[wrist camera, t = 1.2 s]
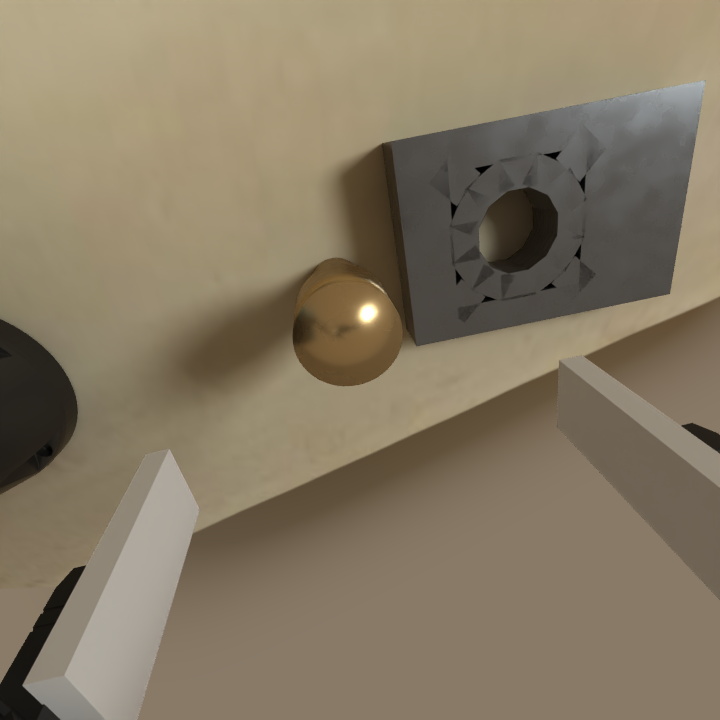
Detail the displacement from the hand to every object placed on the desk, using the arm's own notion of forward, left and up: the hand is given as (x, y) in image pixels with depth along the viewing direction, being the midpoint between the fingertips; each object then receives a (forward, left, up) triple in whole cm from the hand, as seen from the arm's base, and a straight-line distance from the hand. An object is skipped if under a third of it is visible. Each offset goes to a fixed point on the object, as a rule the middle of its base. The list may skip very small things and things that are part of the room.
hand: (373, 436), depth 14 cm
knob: (0, 0, -21) cm, 21 cm away
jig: (+15, +2, -21) cm, 25 cm away
